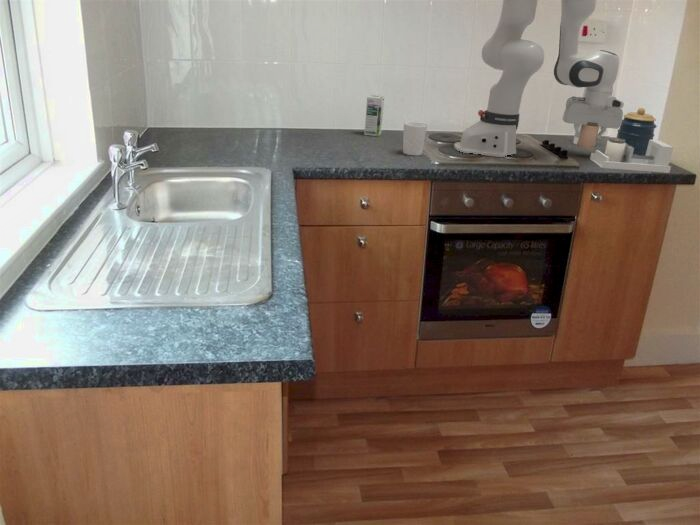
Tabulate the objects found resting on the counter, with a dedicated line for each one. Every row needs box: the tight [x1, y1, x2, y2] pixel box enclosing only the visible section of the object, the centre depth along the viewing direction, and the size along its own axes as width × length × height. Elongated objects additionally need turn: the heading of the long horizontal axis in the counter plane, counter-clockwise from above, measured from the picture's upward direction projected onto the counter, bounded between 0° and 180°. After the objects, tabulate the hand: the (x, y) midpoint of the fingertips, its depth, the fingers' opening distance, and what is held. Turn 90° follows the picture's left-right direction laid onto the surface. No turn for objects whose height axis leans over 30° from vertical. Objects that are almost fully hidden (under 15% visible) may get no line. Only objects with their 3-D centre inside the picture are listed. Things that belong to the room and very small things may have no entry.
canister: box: [616, 107, 658, 155], centre depth 241 cm, size 13×13×18 cm
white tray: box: [589, 139, 674, 174], centre depth 222 cm, size 23×13×9 cm, turn 89°
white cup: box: [402, 121, 428, 156], centre depth 218 cm, size 8×8×10 cm
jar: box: [576, 122, 600, 150], centre depth 230 cm, size 6×6×9 cm
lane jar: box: [604, 136, 626, 162], centre depth 222 cm, size 6×6×9 cm
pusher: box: [622, 144, 654, 163], centre depth 222 cm, size 10×10×7 cm
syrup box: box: [363, 94, 385, 137], centre depth 242 cm, size 6×6×14 cm
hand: (587, 138), depth 231 cm, fingers closed on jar, 6 cm apart
